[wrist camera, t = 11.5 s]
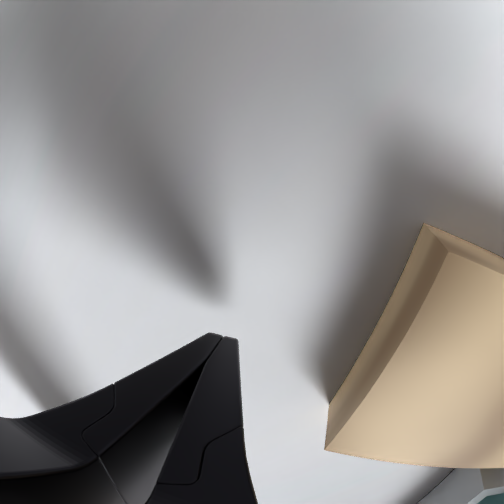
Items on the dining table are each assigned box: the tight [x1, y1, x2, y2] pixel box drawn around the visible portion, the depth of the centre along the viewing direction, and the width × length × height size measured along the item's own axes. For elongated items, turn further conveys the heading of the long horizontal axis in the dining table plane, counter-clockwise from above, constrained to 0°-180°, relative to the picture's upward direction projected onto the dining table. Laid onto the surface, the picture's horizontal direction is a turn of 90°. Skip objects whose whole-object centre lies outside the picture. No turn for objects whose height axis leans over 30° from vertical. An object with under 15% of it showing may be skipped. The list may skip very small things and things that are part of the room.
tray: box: [417, 468, 504, 504], centre depth 10 cm, size 10×10×2 cm
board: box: [324, 223, 504, 468], centre depth 7 cm, size 10×7×2 cm
